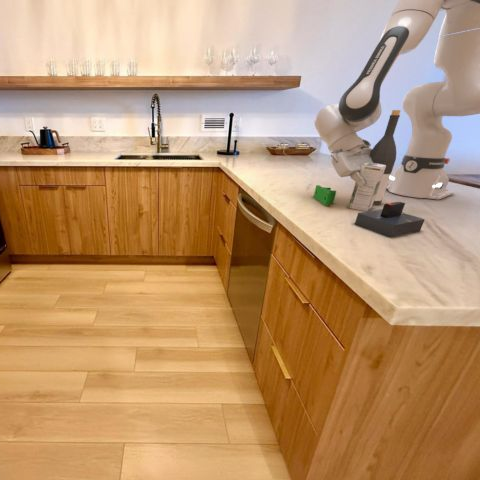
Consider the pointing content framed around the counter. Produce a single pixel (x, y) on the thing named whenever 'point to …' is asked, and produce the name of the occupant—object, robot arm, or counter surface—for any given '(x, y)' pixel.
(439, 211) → the counter surface
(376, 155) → the wine bottle
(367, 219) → the block
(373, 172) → the syrup box
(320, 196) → the pipe clamp
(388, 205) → the black small block
